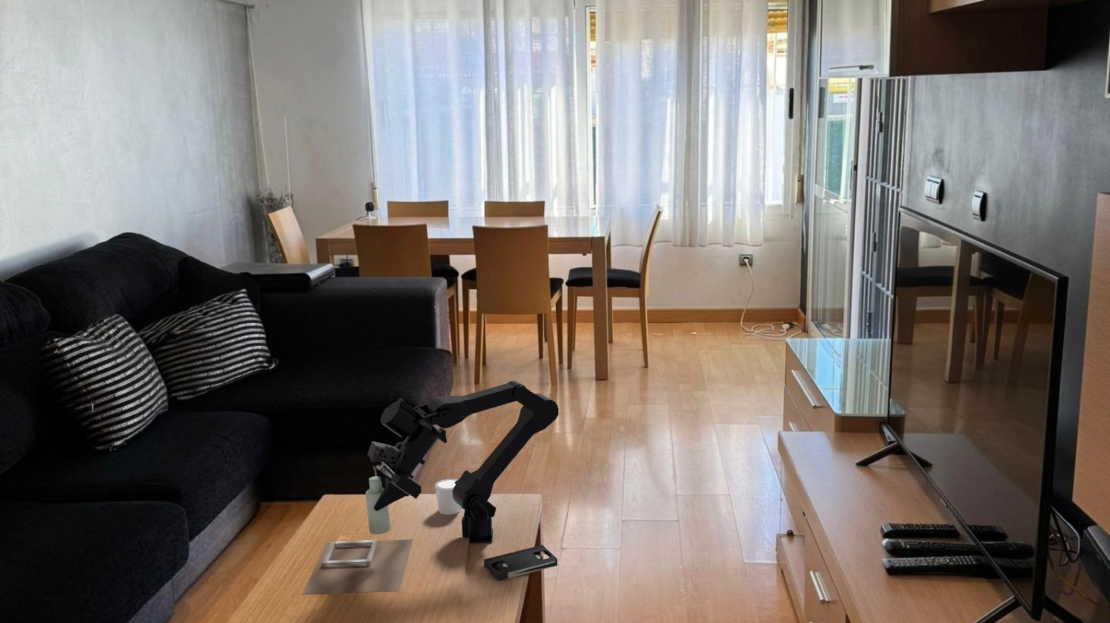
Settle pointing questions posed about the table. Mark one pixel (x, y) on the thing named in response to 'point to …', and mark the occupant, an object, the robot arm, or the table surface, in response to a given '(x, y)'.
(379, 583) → the board
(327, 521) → the table surface
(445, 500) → the white cup
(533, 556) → the vhs tape
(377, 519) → the bottle
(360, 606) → the table surface
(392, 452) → the robot arm
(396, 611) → the table surface
